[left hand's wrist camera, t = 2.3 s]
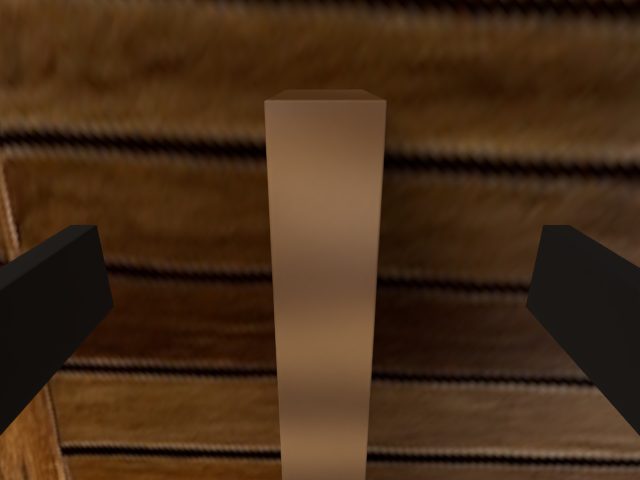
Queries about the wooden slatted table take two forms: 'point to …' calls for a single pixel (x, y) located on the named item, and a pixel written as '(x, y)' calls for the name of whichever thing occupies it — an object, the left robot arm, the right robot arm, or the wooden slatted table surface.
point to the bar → (324, 272)
